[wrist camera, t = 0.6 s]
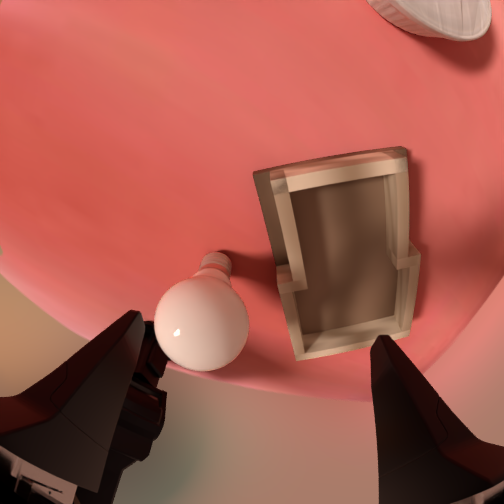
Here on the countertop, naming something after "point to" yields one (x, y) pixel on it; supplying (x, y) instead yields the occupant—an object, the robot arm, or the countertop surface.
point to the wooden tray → (342, 248)
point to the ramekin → (438, 17)
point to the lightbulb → (203, 318)
